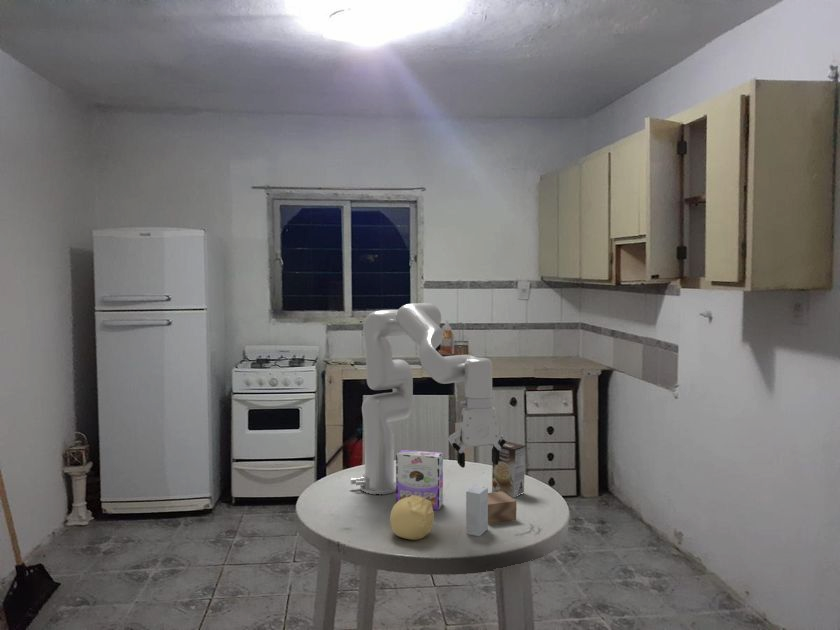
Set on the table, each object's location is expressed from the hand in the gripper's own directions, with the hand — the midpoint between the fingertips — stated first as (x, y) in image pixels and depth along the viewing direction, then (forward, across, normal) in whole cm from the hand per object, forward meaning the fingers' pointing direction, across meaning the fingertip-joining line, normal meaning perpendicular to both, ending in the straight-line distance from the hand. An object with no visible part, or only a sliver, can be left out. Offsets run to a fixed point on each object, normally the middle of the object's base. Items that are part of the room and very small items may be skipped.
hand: (478, 464), depth 179 cm
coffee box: (+19, +21, +29) cm, 40 cm away
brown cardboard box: (+19, +9, +10) cm, 23 cm away
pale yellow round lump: (+19, -18, +3) cm, 26 cm away
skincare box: (+19, 0, +1) cm, 19 cm away
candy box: (+19, -10, +25) cm, 33 cm away
